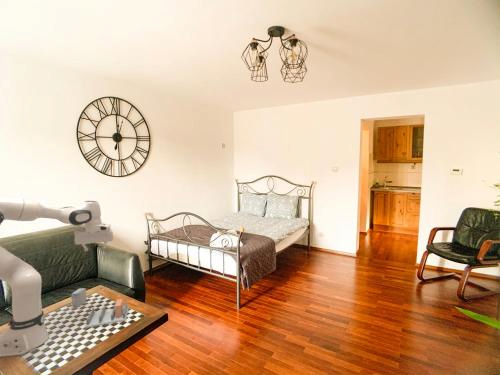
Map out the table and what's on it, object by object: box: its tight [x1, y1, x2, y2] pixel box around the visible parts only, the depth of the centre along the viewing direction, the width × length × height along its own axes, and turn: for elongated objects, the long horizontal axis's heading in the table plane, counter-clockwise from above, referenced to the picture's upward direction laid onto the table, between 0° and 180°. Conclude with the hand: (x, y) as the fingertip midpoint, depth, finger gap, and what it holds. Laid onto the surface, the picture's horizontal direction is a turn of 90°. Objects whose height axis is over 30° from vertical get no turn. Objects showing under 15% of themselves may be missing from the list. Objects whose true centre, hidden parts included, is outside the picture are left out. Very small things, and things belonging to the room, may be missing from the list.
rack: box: [85, 302, 130, 329], centre depth 154 cm, size 20×14×4 cm
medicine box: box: [70, 287, 88, 308], centre depth 170 cm, size 8×4×9 cm, turn 178°
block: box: [114, 298, 124, 318], centre depth 156 cm, size 3×8×7 cm, turn 17°
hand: (95, 249), depth 161 cm, fingers open, 8 cm apart
